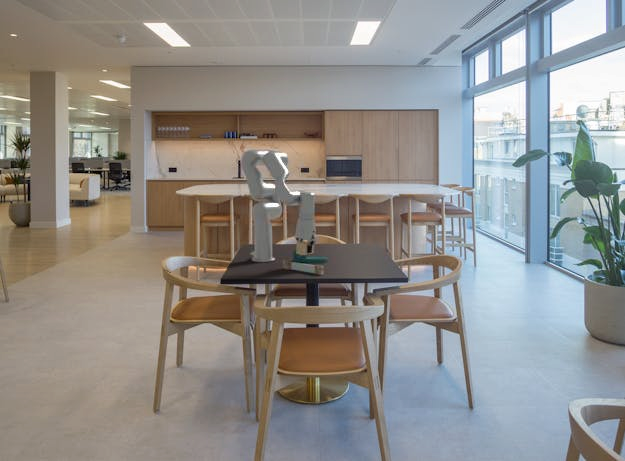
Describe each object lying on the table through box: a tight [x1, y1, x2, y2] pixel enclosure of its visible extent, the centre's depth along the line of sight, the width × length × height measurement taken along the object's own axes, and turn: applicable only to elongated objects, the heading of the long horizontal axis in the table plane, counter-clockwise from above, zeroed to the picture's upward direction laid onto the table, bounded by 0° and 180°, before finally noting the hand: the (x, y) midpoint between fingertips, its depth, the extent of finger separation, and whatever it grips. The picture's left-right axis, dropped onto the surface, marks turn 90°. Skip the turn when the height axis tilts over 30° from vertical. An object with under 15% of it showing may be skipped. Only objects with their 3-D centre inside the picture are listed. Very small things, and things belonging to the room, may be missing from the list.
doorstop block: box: [295, 240, 315, 255], centre depth 296 cm, size 5×8×6 cm, turn 141°
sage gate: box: [290, 261, 316, 274], centre depth 286 cm, size 15×2×4 cm, turn 51°
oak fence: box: [282, 260, 325, 276], centre depth 285 cm, size 25×2×4 cm, turn 51°
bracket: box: [292, 249, 329, 264], centre depth 313 cm, size 18×7×8 cm, turn 83°
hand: (305, 251), depth 297 cm, fingers closed on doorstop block, 5 cm apart
